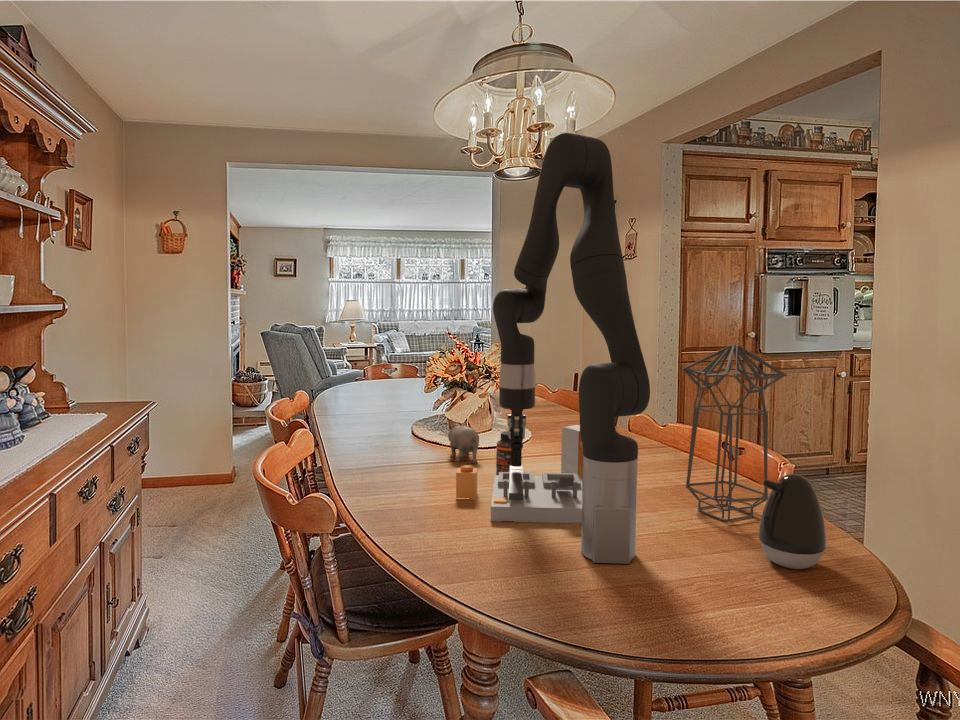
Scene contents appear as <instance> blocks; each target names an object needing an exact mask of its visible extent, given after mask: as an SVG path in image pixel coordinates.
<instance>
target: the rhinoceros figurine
mask: <svg viewBox="0 0 960 720" xmlns="http://www.w3.org/2000/svg"><path fill="white" fill-rule="evenodd" d="M448 441H449V442H450V444H449V445H450V450H451V454H450V455H449V458H450V457H451V458H453V459H455V462H461V461H463V460H462V459H464V458H465V455H470V453H472V458H471V462H470V464H472V465H475V464H479V462H478V460H477V454H478V449H479V446H480V444H479V443H480V436H479V433H478V432H477V431H476V430H475V429H474V428H472V427H470V426H468V424H467V423H463V425H460V424H458V423H457V422H456V423H454V425H453V426H451V429H450V430H449V432H448ZM457 450H458V455H457V452H456V451H457Z"/></svg>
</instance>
